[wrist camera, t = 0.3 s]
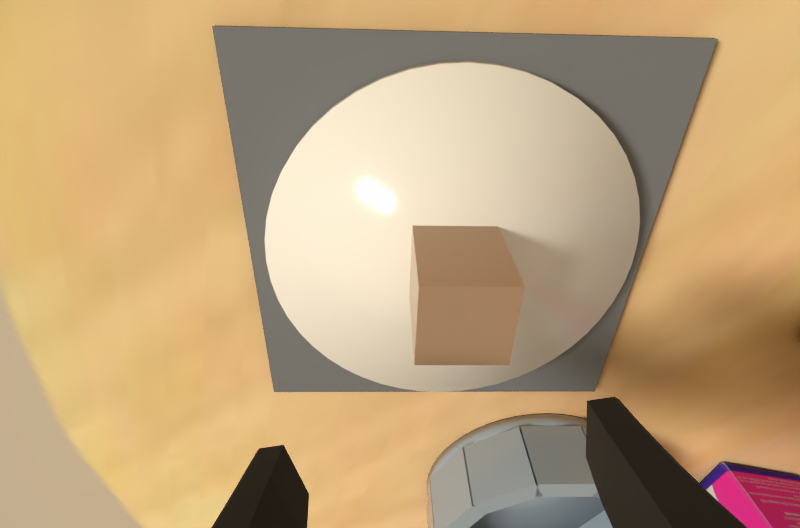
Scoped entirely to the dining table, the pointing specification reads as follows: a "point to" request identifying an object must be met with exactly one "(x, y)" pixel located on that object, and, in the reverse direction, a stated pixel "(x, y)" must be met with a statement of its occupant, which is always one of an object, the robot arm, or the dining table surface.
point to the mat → (399, 49)
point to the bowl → (516, 477)
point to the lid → (451, 226)
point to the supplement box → (756, 495)
